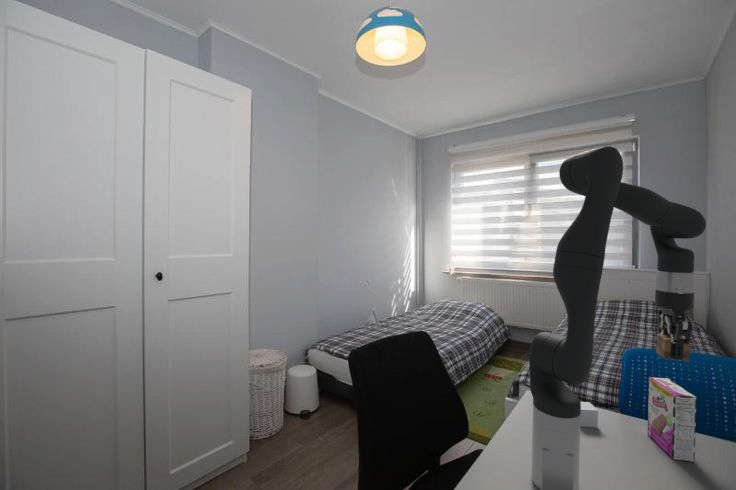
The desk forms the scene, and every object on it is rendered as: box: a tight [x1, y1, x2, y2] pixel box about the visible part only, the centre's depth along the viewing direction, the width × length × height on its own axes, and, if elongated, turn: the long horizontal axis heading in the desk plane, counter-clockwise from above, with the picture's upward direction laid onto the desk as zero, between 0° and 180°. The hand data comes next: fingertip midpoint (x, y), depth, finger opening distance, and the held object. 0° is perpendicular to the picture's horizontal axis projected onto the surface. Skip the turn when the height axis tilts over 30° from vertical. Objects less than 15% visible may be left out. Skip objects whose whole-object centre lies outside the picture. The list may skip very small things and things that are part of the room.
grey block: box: [580, 401, 599, 428], centre depth 103 cm, size 5×5×5 cm
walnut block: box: [655, 333, 691, 362], centre depth 90 cm, size 5×5×5 cm
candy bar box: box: [647, 376, 697, 463], centre depth 90 cm, size 11×5×16 cm, turn 168°
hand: (672, 354), depth 90 cm, fingers closed on walnut block, 5 cm apart
